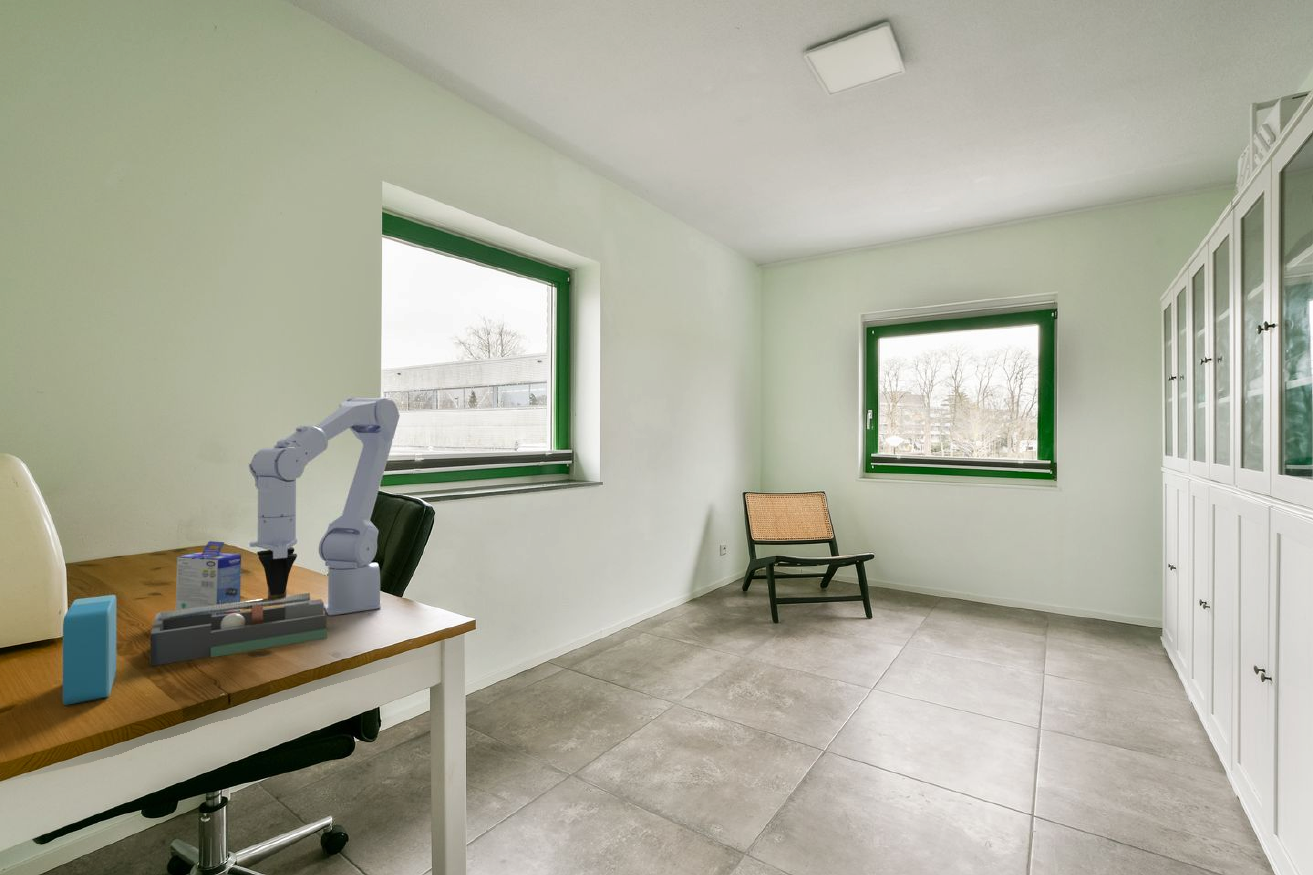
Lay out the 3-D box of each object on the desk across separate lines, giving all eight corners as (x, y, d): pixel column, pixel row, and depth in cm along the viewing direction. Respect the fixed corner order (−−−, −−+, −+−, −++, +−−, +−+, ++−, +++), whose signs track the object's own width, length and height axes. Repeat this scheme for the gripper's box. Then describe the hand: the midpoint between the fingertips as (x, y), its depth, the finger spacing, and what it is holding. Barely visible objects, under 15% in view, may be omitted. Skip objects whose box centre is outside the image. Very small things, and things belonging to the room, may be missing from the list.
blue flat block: (75, 678, 89) (75, 597, 88) (116, 671, 91) (116, 592, 91) (62, 709, 79) (62, 617, 79) (108, 700, 82) (109, 611, 82)
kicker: (307, 616, 113) (308, 568, 112) (311, 623, 109) (311, 573, 108) (156, 639, 100) (156, 584, 100) (153, 648, 96) (154, 591, 96)
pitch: (317, 619, 117) (318, 593, 117) (327, 637, 107) (327, 609, 107) (156, 644, 103) (156, 614, 103) (150, 667, 93) (150, 634, 93)
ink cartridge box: (243, 615, 119) (243, 541, 119) (217, 624, 114) (217, 547, 113) (201, 611, 121) (201, 539, 121) (174, 620, 116) (174, 544, 115)
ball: (244, 629, 106) (245, 609, 106) (245, 635, 103) (245, 614, 103) (220, 633, 104) (220, 612, 104) (220, 638, 101) (220, 618, 101)
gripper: (248, 512, 111) (247, 586, 111) (251, 522, 99) (251, 605, 99) (292, 509, 115) (292, 580, 115) (301, 519, 103) (301, 598, 103)
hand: (276, 592), depth 107 cm, fingers closed on kicker, 3 cm apart
